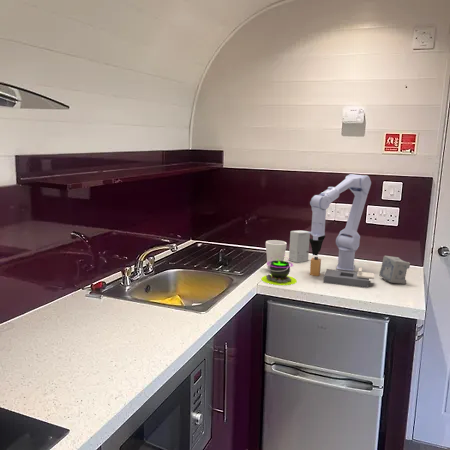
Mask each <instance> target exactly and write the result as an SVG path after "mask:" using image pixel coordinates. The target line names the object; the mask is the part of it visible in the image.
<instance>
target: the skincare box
mask: <svg viewBox="0 0 450 450" xmlns="http://www.w3.org/2000/svg"><path fill="white" fill-rule="evenodd" d="M308 232H309V231H307V230H300V229H299V230H291V231H290V234H289V250H288V261H289V262H290V261H291V262H292V263H295V264H297V263H303V262H308V261H309V253H310V241H309V239H310V238H311V234H308Z"/></svg>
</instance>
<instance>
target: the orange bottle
mask: <svg viewBox="0 0 450 450" xmlns="http://www.w3.org/2000/svg"><path fill="white" fill-rule="evenodd" d="M321 263H322V258H320V257H318V256H314V257H312V258H311V259H310V267H309V276H313V277H320V275H321V267H322V266H321V265H322V264H321Z"/></svg>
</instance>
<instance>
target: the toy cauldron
mask: <svg viewBox="0 0 450 450" xmlns="http://www.w3.org/2000/svg"><path fill="white" fill-rule="evenodd" d="M276 257H278V256H276ZM279 257H280V256H279ZM285 258H286V259H288V257H286V254H285V256H284V259H285ZM277 260H278V259H277ZM270 263H271V264H270ZM270 263H269V262H267V261H266V265H269V266H270V267H269V266H267V269H268V268H269V270H270V271H269V272H270V274H266V275H263V276H262V277H261V281H262V282H264V283H266V284H268V283H269V284H268V285H272V284H273V286H274V285H275V286H291V284H292V285H295V284H297V282H298V280H297V278H295V277H293V276H289V274H290V272H291V268H292V267H294V264H293V263H292V262H290V261H287V260H284V261H271V262H270Z"/></svg>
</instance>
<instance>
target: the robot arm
mask: <svg viewBox="0 0 450 450" xmlns="http://www.w3.org/2000/svg"><path fill="white" fill-rule="evenodd" d="M371 185H372V181H371V178H370V176H369V175H363V174H353V173H350V174H347V175H346V176H345V178H344V179H343V180H342V181H341V182H340V183H338V184H337V185H336V186H328V187H327V189H325V190H324V191H323V192H320V193H319V194H314V195H313V196H312V197H311V199H310V201H309V205H310V206H311V211H312V213H311V214H312V215H311V229H310V231H308V234H310V236H312V238H311V237H310V239H309V244H310V247H311V252H312V256H318V255H319V253H320V252H321V249H322V245H323V242H324V240H325V238H326V232H325V231H326V218H327V210H328V208H329V206H330V205H331V204H332V203H333V202H334V201H335V200H337V199H338V198H340V194H341V193H343V192H345V191H346V190H350V192H351V193H353V195H354V197H353V201H352V204H351V207H350V211H349V214H348V218H347V221H346V224H345V228H343V229H342V230H340V231H339V233H338V235H337V236H336V238H335V245H336V247H337V249H338V258H337V259H338V260H337V266H336V267H335V270H340V271H349V272H355V268H356V265H355V255H356V254H355V253H356V252H357V250H358V249H359V247H360V244H361V243H360V240H361V235H360V234H359V232H358V229H359V225H360V221H361V217H362V215H363V212H364V208H365V205H366V202H367V198H368V194H369V192H370V189H371Z"/></svg>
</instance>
